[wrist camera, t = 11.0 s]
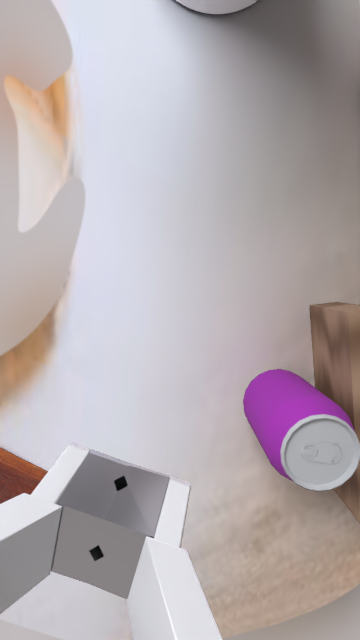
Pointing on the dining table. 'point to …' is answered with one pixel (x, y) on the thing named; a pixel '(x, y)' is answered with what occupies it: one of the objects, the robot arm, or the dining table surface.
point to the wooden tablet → (17, 476)
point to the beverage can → (301, 430)
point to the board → (339, 373)
